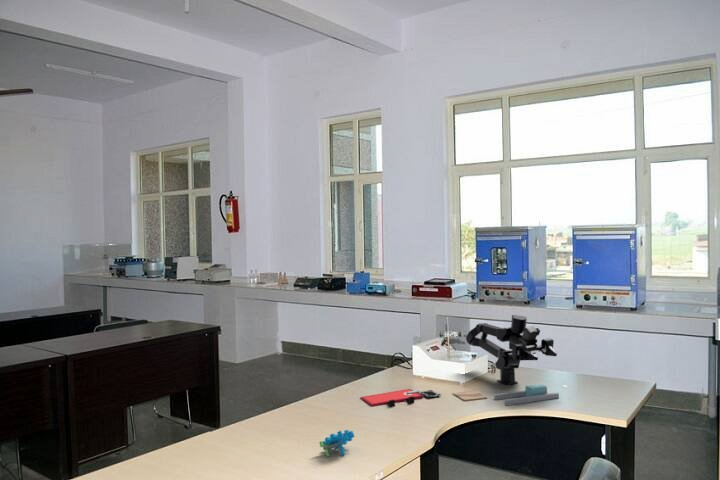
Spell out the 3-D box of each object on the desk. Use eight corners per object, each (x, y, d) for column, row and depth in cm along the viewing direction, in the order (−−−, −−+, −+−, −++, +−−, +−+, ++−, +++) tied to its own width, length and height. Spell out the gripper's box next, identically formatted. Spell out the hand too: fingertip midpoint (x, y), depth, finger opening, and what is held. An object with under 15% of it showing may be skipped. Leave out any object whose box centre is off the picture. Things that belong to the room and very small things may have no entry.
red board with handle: (444, 398, 218) (425, 389, 232) (444, 391, 218) (425, 383, 232) (376, 410, 206) (360, 400, 220) (375, 403, 206) (360, 393, 220)
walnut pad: (452, 394, 223) (452, 393, 223) (474, 391, 226) (474, 390, 226) (464, 401, 213) (464, 400, 213) (487, 398, 217) (487, 397, 217)
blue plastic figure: (352, 438, 173) (354, 424, 166) (357, 456, 170) (360, 443, 162) (318, 448, 170) (319, 434, 163) (323, 466, 167) (324, 453, 159)
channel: (494, 399, 215) (494, 394, 215) (545, 391, 223) (545, 387, 223) (506, 405, 208) (506, 400, 207) (558, 397, 215) (558, 393, 215)
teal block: (525, 397, 218) (525, 385, 217) (540, 395, 220) (540, 383, 220) (531, 400, 214) (531, 388, 214) (546, 397, 216) (546, 386, 216)
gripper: (503, 327, 223) (528, 341, 209) (540, 321, 230) (567, 334, 216) (502, 353, 226) (527, 368, 211) (539, 346, 232) (565, 360, 218)
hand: (547, 356), depth 214 cm, fingers open, 9 cm apart
